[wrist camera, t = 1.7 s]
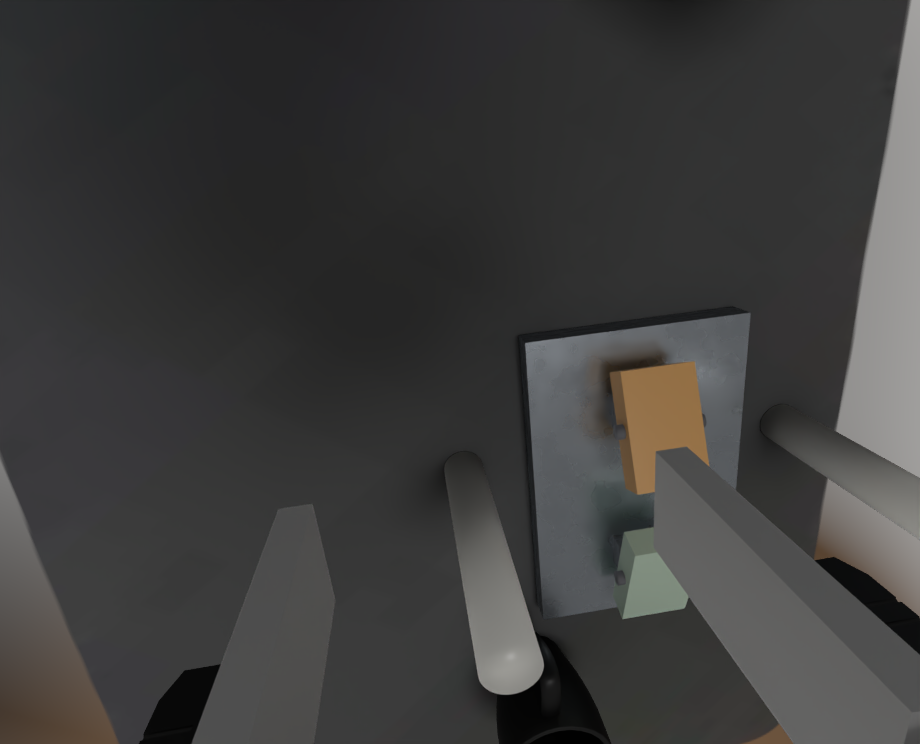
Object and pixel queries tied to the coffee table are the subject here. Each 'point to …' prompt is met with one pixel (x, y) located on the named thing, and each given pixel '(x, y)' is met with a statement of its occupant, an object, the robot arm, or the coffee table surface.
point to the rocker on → (644, 578)
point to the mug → (551, 707)
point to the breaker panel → (612, 439)
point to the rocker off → (656, 418)
